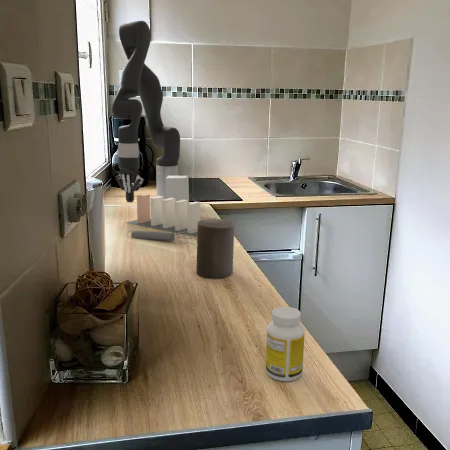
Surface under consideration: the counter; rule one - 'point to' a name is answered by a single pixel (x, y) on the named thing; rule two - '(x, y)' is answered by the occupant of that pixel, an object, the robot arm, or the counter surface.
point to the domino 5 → (193, 216)
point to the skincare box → (177, 188)
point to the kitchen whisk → (157, 235)
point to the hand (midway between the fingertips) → (130, 202)
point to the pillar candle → (215, 248)
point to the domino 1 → (143, 208)
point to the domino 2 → (156, 210)
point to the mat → (160, 227)
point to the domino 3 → (168, 212)
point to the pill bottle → (285, 345)
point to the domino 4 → (181, 215)
